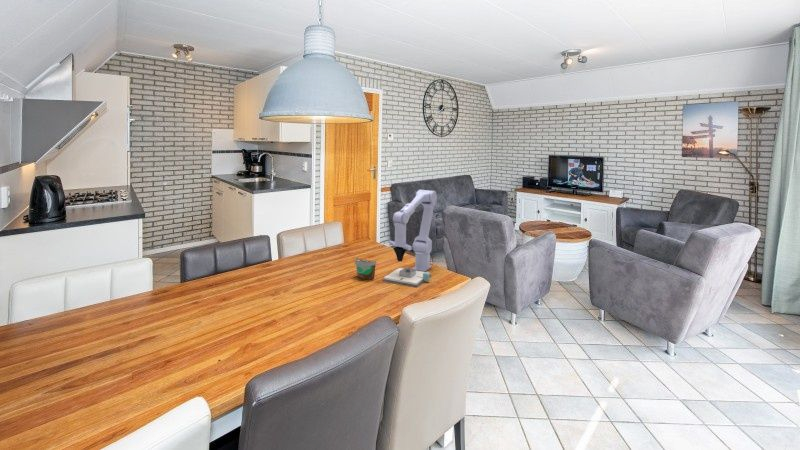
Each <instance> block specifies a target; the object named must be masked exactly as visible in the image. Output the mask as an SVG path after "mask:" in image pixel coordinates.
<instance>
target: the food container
mask: <svg viewBox="0 0 800 450" xmlns="http://www.w3.org/2000/svg"><path fill="white" fill-rule="evenodd" d="M354 264H355V268H356V277H357V280H360V281H372V280H374V279H375V274H376V273H375V272H376V265H377V260H373V261H372V260H368V259H360V258H358V257H356V258H355V260H354Z"/></svg>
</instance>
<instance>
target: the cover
mask: <svg viewBox="0 0 800 450" xmlns="http://www.w3.org/2000/svg"><path fill="white" fill-rule="evenodd" d="M416 271H417V270H415V269H412V268H410V267H404V269H402V270H401V271H399V276H403V277H409V278H411V277H413V276H414V275H416Z"/></svg>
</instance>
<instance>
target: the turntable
mask: <svg viewBox="0 0 800 450" xmlns="http://www.w3.org/2000/svg"><path fill="white" fill-rule="evenodd" d="M404 268H405V267H404ZM404 268H403V267H399V268H397V269H395V270H393V271H392V272H390V273H388V274H387V275H385V276H384V277H383V279H386V280H391V281H397V282H402V283H408V284H413V285H417V284H419V283H420V282H421V281H422V280H424V281H425V282H429V281H431V280H430V279H431V277H430V275H431V272H428V271H420V270H416V275H414V276H413V277H411V278H409V277H403V276H399V271H401V270H402V269H404Z"/></svg>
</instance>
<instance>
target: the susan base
mask: <svg viewBox="0 0 800 450" xmlns="http://www.w3.org/2000/svg"><path fill="white" fill-rule="evenodd" d="M431 277H432V274H430V278H431ZM382 282H385V283H390V284H396V285H401V286H406V287H412V288H419V287H420V286H421V285H422V284H423V283H425V282H426V281H424V280H422V281H421V282H420V283H419V284H417V285H413V284H408V283H402V282H397V281H391V280H386V279H384V278H383V279H382Z"/></svg>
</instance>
